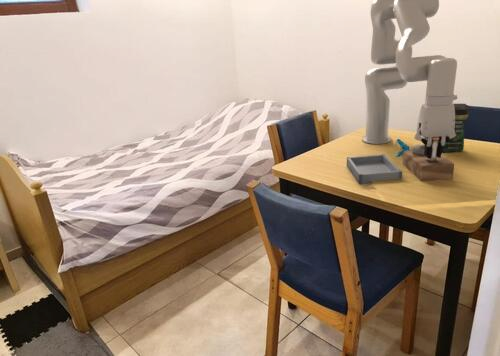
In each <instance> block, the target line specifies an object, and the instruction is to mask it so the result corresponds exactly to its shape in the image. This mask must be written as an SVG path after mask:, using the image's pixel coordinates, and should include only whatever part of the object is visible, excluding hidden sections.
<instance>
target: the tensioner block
mask: <svg viewBox="0 0 500 356" xmlns="http://www.w3.org/2000/svg"><path fill="white" fill-rule="evenodd" d="M424 149H425V145H424V144H417V145H416V144H415V145H413V146H412V149H411V150H410V151H403V154H402V165H403V166H404V167H405V168H406V169H407V171H409V172H410V173H411V174H413V175H414V177H416V178H417V179H418V180H419V181H420V182H427V181H440V180H441V181H442V180H452V179H453V177H454V170H455V163H454V162H452V161H451V160H449V159H448V158H447V157H445V156H443V155H442V154H441V158H438V157H437V159H436V163H429V162H428V158H427V157H426V156H425V155H424Z"/></svg>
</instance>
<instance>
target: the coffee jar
mask: <svg viewBox="0 0 500 356" xmlns="http://www.w3.org/2000/svg"><path fill="white" fill-rule="evenodd" d="M453 104H454V108H455V127H454V131H455V134H456V136H455V137H453V138H451V139H449V140H448V141H447V142H446V143H445V145H444V146H443V150H442V154H444V153H446V154H449V153H450V154H451V153H462V152H463V151H464V148H465V147H464V146H465V127H466V126H465V124H466V121H467V119H468V118H469V105H468V104H467V103H453Z"/></svg>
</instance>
